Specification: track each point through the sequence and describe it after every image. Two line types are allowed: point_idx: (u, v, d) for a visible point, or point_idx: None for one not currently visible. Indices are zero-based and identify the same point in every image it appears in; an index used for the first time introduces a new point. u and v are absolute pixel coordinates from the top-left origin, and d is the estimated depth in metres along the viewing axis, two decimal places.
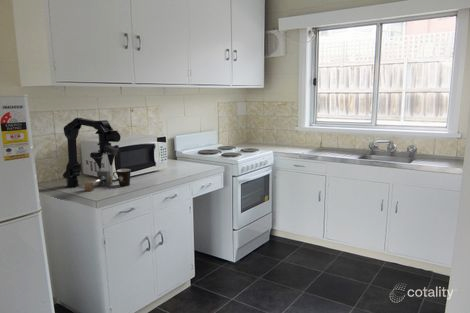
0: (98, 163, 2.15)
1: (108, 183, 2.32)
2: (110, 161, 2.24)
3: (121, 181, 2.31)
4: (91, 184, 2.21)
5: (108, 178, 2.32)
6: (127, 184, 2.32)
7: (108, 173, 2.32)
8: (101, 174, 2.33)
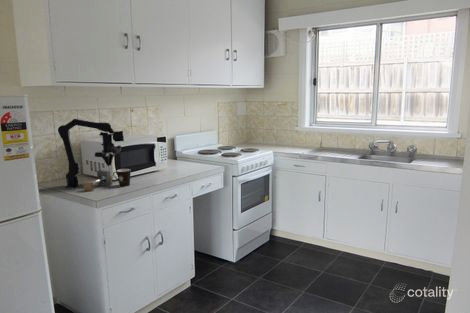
0: (106, 161, 2.36)
1: (108, 183, 2.32)
2: (109, 161, 2.38)
3: (121, 181, 2.31)
4: (91, 184, 2.21)
5: (108, 178, 2.32)
6: (127, 184, 2.32)
7: (108, 173, 2.32)
8: (101, 174, 2.33)
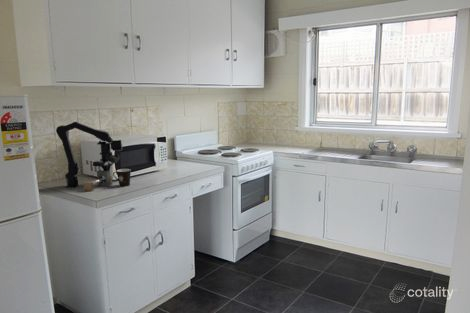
0: (105, 170, 2.35)
1: (108, 184, 2.32)
2: (106, 170, 2.37)
3: (121, 181, 2.31)
4: (91, 184, 2.21)
5: (108, 178, 2.32)
6: (127, 184, 2.32)
7: (108, 173, 2.32)
8: (101, 174, 2.32)
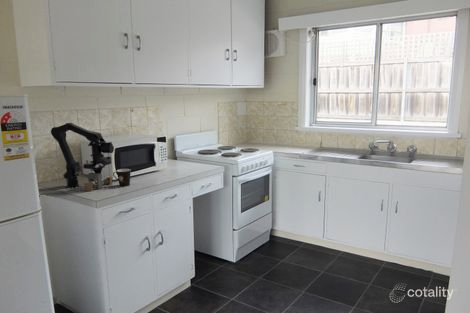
0: (96, 172, 2.28)
1: (99, 186, 2.25)
2: None
3: (121, 181, 2.31)
4: (91, 184, 2.21)
5: (99, 181, 2.25)
6: (127, 184, 2.32)
7: (99, 176, 2.25)
8: (92, 177, 2.25)
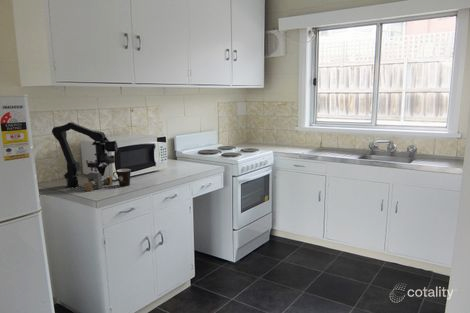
0: (100, 171, 2.31)
1: (99, 187, 2.25)
2: None
3: (121, 181, 2.31)
4: (91, 184, 2.21)
5: (99, 181, 2.25)
6: (127, 184, 2.32)
7: (99, 176, 2.25)
8: (92, 177, 2.25)
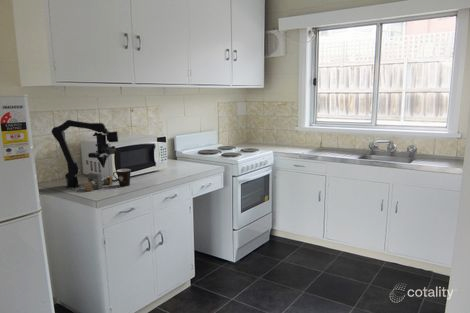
0: (101, 161, 2.34)
1: (99, 187, 2.25)
2: None
3: (121, 181, 2.31)
4: (91, 184, 2.21)
5: (99, 181, 2.25)
6: (127, 184, 2.32)
7: (99, 176, 2.25)
8: (92, 177, 2.25)
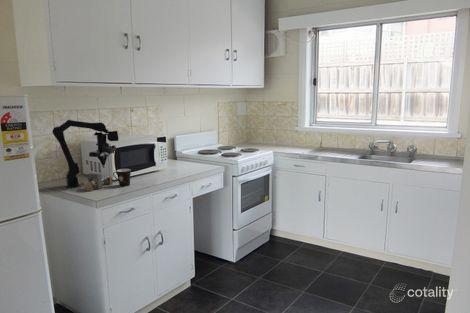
0: (101, 161, 2.37)
1: (99, 187, 2.25)
2: None
3: (121, 181, 2.31)
4: (91, 184, 2.21)
5: (99, 181, 2.25)
6: (127, 184, 2.32)
7: (99, 176, 2.25)
8: (92, 177, 2.25)
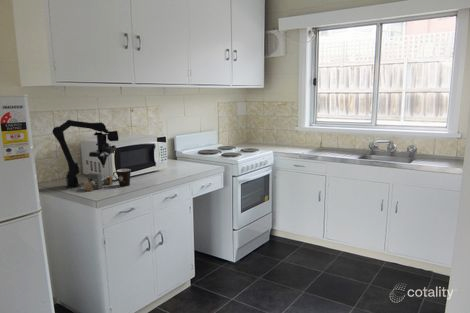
0: (101, 161, 2.37)
1: (99, 187, 2.25)
2: None
3: (121, 181, 2.31)
4: (91, 184, 2.21)
5: (99, 181, 2.25)
6: (127, 184, 2.32)
7: (99, 176, 2.25)
8: (92, 177, 2.25)
